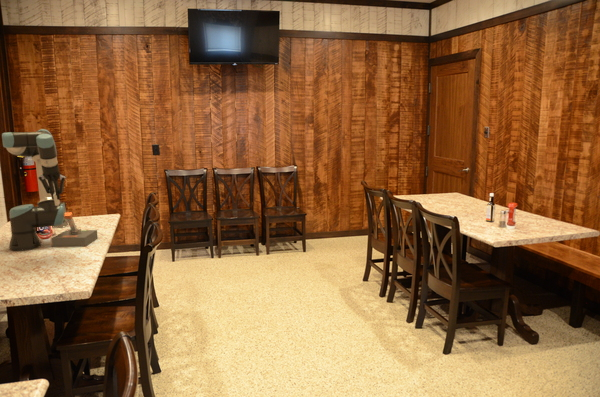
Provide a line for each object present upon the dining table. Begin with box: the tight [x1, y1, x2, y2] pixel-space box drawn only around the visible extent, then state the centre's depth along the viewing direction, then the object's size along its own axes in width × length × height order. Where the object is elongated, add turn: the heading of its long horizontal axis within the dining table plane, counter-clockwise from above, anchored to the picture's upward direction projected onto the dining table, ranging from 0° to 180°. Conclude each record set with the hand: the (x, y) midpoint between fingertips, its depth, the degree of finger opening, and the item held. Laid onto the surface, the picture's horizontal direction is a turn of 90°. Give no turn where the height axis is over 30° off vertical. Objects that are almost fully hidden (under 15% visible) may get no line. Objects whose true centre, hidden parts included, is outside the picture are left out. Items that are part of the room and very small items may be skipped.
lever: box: [64, 211, 79, 233], centre depth 267 cm, size 4×3×14 cm
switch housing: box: [51, 228, 99, 248], centre depth 271 cm, size 18×18×8 cm
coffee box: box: [53, 201, 69, 228], centre depth 312 cm, size 9×6×16 cm
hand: (57, 204), depth 251 cm, fingers closed
